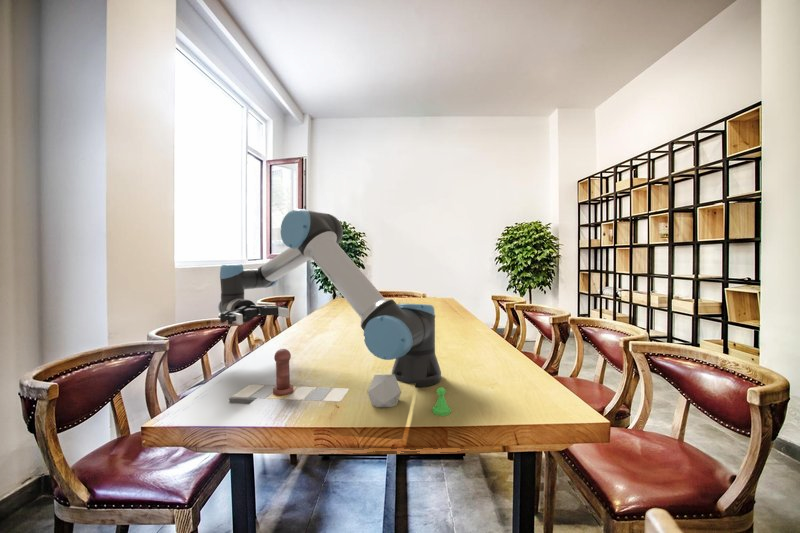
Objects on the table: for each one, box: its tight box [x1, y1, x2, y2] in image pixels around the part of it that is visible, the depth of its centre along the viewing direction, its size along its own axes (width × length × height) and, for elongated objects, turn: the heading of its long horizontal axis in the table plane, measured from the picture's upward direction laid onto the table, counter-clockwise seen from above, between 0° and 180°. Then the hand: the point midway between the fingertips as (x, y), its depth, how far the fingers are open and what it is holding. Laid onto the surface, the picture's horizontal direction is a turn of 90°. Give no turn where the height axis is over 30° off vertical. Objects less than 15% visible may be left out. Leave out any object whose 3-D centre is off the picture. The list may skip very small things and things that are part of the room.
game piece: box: [431, 386, 451, 416], centre depth 82 cm, size 4×4×6 cm
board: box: [228, 383, 350, 404], centre depth 92 cm, size 30×10×1 cm, turn 82°
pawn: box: [272, 348, 294, 396], centre depth 92 cm, size 5×5×12 cm
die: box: [367, 374, 402, 408], centre depth 85 cm, size 8×9×10 cm
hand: (265, 316), depth 100 cm, fingers open, 13 cm apart
